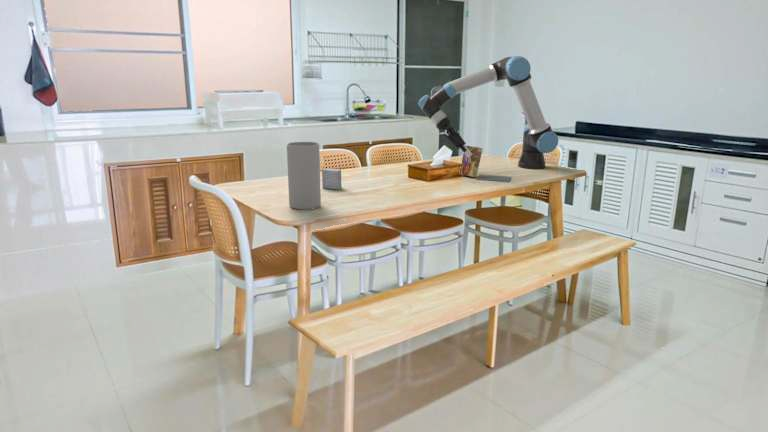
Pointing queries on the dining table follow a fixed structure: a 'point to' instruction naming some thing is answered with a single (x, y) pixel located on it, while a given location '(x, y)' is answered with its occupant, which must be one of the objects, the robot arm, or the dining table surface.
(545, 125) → the robot arm
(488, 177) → the slate mat
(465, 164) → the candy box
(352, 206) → the dining table surface
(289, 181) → the cylinder vase
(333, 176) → the medicine box
